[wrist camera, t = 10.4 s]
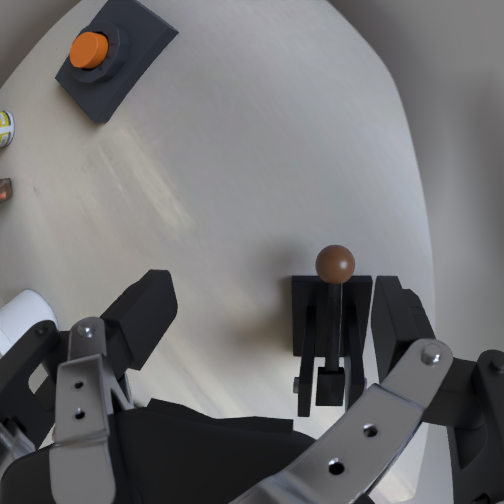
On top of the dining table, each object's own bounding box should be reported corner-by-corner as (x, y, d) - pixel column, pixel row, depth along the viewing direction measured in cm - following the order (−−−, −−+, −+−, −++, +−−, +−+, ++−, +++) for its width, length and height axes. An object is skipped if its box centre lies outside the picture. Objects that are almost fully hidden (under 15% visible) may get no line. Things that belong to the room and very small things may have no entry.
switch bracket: (292, 275, 31) (276, 356, 20) (371, 275, 29) (391, 357, 18) (294, 349, 35) (280, 432, 24) (361, 350, 33) (368, 433, 22)
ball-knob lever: (315, 247, 26) (315, 242, 23) (352, 247, 25) (356, 242, 22) (310, 394, 25) (308, 407, 21) (346, 395, 24) (349, 408, 21)
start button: (95, 28, 20) (84, 25, 18) (114, 44, 21) (103, 42, 19) (75, 57, 22) (64, 56, 20) (93, 75, 22) (81, 74, 21)
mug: (33, 280, 41) (-8, 312, 32) (67, 329, 43) (30, 366, 34) (13, 301, 45) (-21, 329, 36) (42, 342, 48) (12, 373, 39)
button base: (128, -6, 21) (107, -15, 17) (179, 32, 23) (159, 22, 19) (67, 78, 26) (43, 78, 23) (107, 121, 28) (83, 124, 24)
